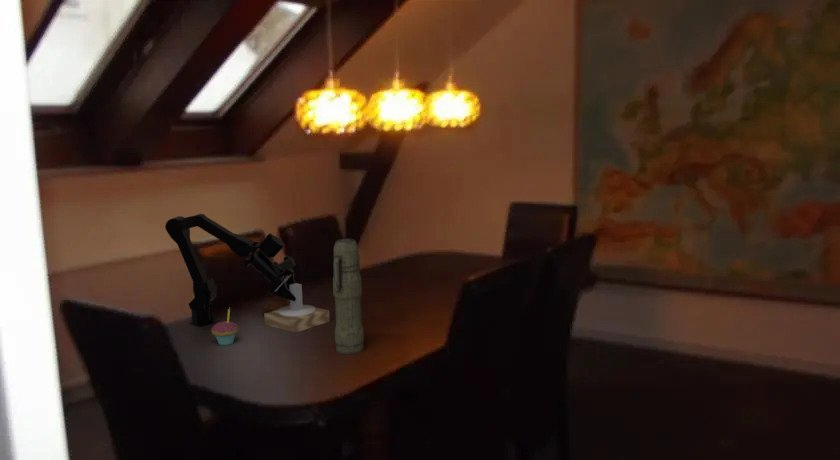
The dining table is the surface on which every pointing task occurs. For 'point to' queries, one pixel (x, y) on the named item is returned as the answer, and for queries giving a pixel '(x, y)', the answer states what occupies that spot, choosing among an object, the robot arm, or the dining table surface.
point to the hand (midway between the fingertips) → (298, 296)
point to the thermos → (347, 297)
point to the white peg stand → (296, 304)
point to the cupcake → (225, 331)
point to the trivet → (296, 320)
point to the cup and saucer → (275, 304)
